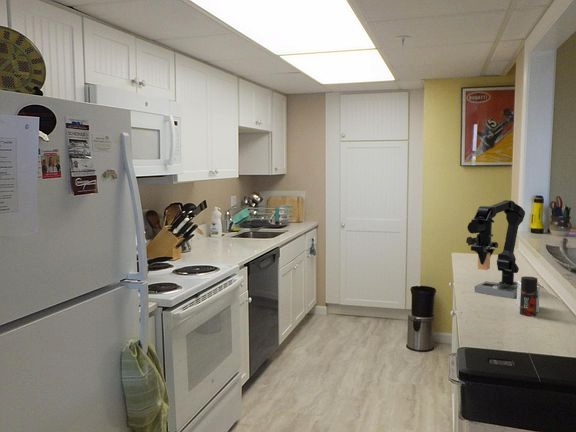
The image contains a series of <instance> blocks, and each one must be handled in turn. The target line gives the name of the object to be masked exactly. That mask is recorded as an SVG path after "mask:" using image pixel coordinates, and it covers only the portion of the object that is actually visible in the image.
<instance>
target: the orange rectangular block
mask: <svg viewBox="0 0 576 432" xmlns="http://www.w3.org/2000/svg"><path fill="white" fill-rule="evenodd" d="M490 268H491V257H490V253H489V252H488V253H487V256H486V259H485V261H484V264H481V263H480V259H479V256H478V255H477V269H478V270H482V271H483V270H484V271H487V270H490Z"/></svg>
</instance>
